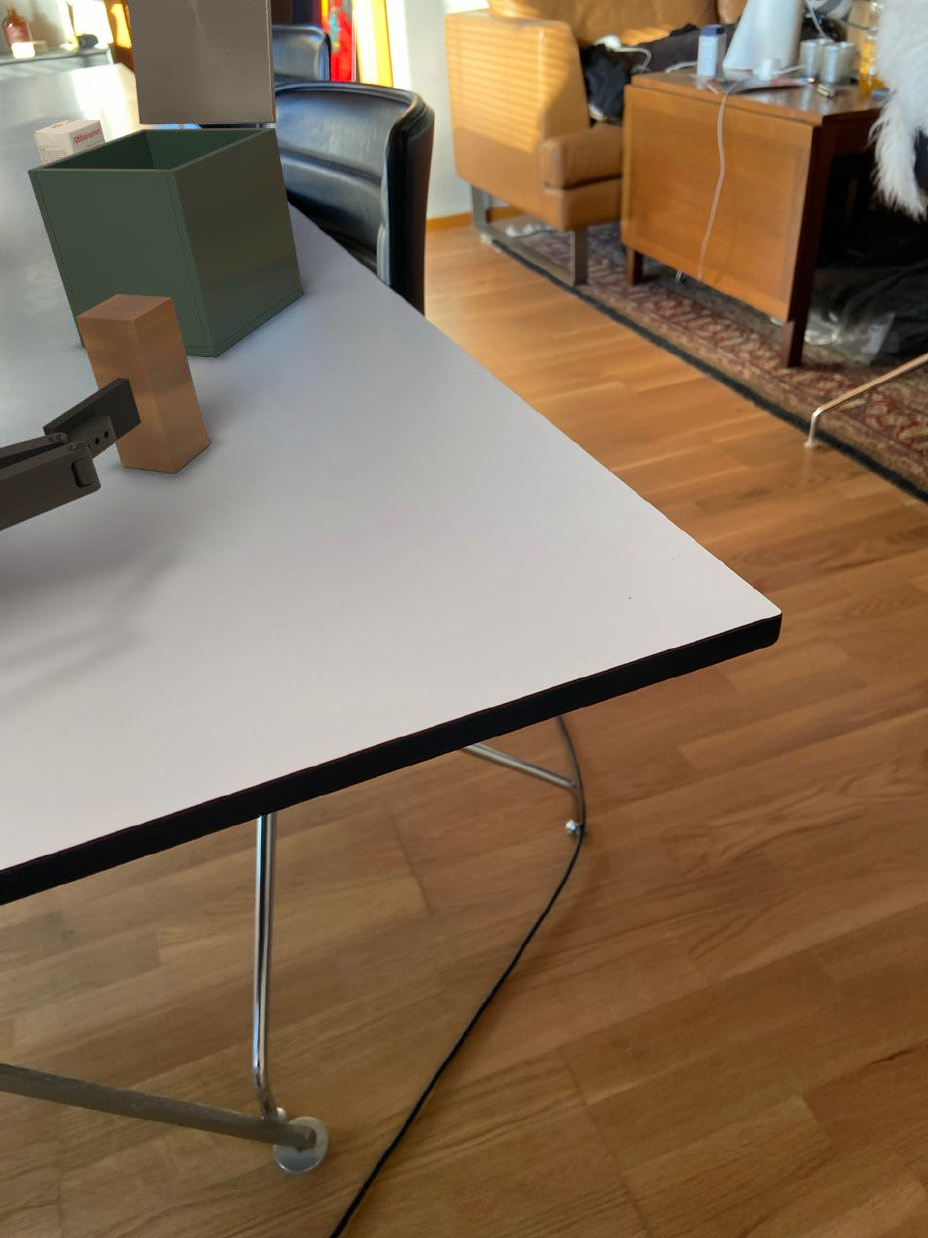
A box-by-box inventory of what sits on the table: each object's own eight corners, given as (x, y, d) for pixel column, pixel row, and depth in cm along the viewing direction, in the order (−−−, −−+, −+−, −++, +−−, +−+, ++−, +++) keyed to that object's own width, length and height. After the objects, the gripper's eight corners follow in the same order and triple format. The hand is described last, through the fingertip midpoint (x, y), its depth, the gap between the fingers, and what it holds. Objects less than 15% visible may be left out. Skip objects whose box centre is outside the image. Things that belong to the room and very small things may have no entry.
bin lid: (261, -110, 83) (265, -108, 83) (118, -96, 87) (123, -94, 88) (272, 122, 89) (276, 123, 90) (139, 123, 94) (143, 124, 95)
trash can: (216, 357, 87) (173, 171, 78) (82, 346, 91) (26, 170, 82) (303, 294, 99) (275, 127, 90) (181, 287, 104) (142, 128, 95)
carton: (122, 467, 71) (75, 316, 64) (158, 439, 74) (117, 293, 67) (175, 473, 69) (132, 320, 63) (209, 445, 72) (172, 296, 66)
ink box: (96, 232, 125) (67, 131, 118) (61, 233, 125) (30, 132, 118) (126, 214, 131) (101, 116, 124) (93, 215, 132) (65, 118, 125)
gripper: (-420, 614, 49) (-96, 430, 65) (-35, 701, 41) (228, 468, 57) (-519, 481, 45) (-146, 318, 61) (-110, 551, 37) (198, 343, 53)
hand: (36, 391), depth 59 cm, fingers open, 13 cm apart
